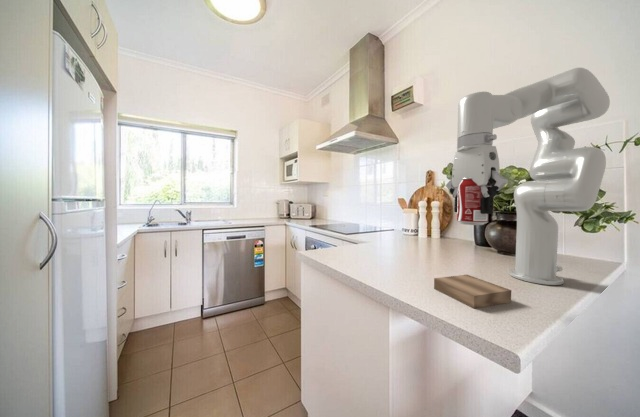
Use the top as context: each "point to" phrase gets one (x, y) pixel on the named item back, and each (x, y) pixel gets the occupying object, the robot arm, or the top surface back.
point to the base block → (472, 291)
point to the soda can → (470, 203)
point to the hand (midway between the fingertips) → (472, 212)
